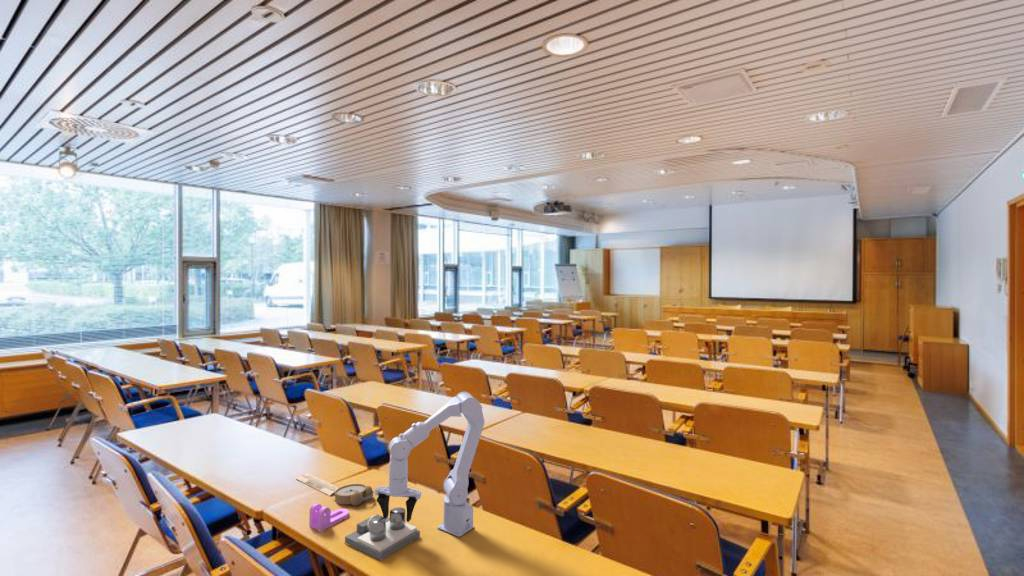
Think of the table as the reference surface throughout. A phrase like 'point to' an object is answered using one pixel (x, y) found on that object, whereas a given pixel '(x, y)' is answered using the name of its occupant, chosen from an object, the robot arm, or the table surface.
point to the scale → (385, 546)
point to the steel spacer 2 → (397, 519)
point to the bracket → (325, 516)
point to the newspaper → (317, 484)
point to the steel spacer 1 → (377, 529)
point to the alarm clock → (353, 494)
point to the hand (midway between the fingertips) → (397, 518)
